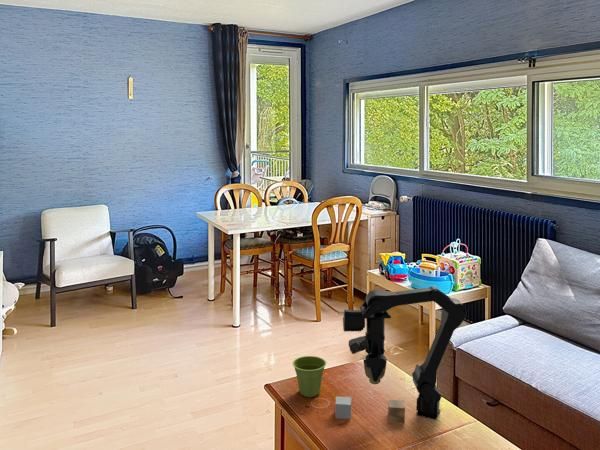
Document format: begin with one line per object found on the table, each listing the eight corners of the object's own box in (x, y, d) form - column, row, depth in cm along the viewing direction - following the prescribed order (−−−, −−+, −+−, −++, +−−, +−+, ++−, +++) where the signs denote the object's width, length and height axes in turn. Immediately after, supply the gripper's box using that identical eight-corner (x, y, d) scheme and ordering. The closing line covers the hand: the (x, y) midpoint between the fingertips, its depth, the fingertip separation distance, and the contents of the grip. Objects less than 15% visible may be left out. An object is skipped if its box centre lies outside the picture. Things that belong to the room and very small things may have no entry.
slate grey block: (351, 411, 174) (351, 397, 173) (350, 419, 169) (350, 404, 168) (336, 410, 175) (336, 396, 174) (335, 418, 170) (335, 403, 169)
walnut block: (403, 414, 172) (404, 400, 171) (404, 422, 167) (405, 408, 166) (388, 413, 173) (388, 399, 172) (388, 421, 168) (388, 407, 167)
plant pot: (287, 389, 190) (286, 359, 188) (316, 382, 195) (316, 353, 193) (302, 403, 179) (302, 372, 177) (332, 396, 184) (332, 365, 182)
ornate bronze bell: (381, 390, 166) (381, 365, 165) (359, 384, 170) (359, 361, 168) (389, 380, 172) (390, 357, 171) (369, 375, 176) (369, 352, 175)
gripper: (350, 320, 178) (350, 363, 181) (349, 340, 160) (349, 389, 162) (384, 320, 177) (383, 364, 179) (386, 342, 158) (385, 390, 161)
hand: (375, 376), depth 171 cm, fingers closed on ornate bronze bell, 6 cm apart
